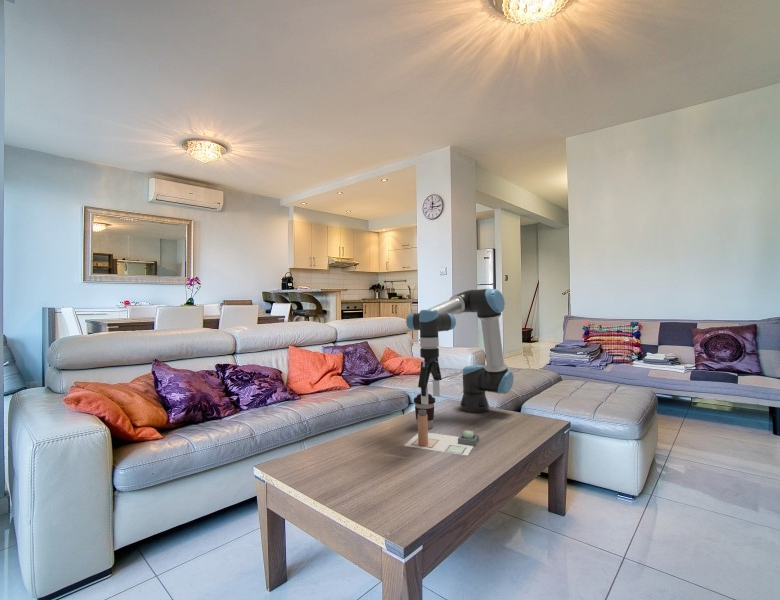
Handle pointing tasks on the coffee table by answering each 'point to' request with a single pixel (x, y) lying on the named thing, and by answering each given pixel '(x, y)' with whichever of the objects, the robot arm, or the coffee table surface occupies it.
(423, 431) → the marker
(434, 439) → the sheet
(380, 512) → the coffee table surface
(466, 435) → the button
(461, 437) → the button housing
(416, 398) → the coffee cup
